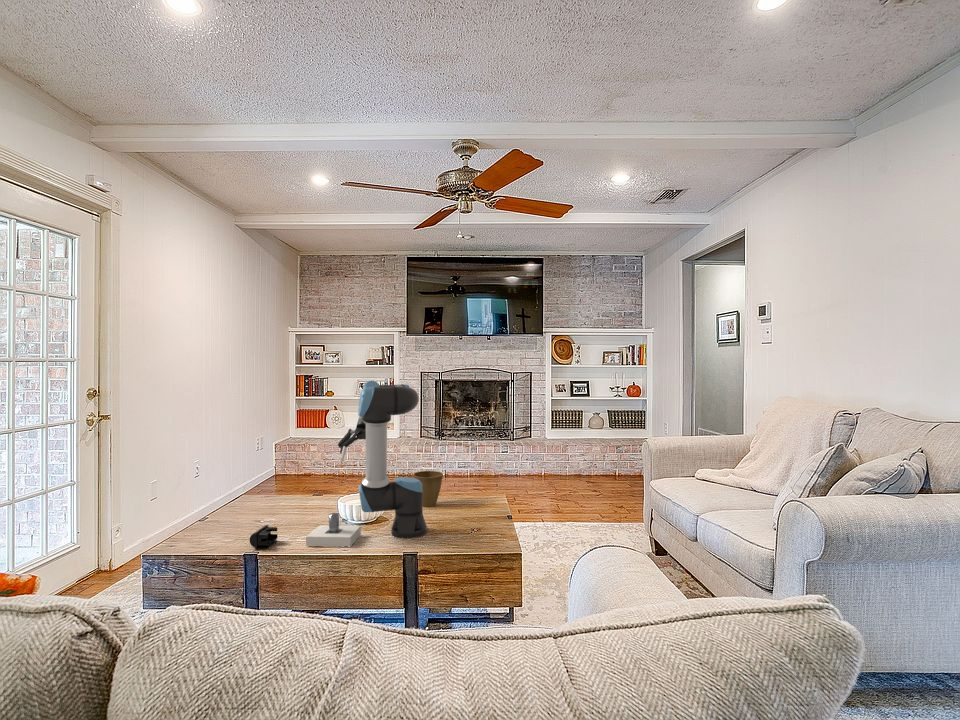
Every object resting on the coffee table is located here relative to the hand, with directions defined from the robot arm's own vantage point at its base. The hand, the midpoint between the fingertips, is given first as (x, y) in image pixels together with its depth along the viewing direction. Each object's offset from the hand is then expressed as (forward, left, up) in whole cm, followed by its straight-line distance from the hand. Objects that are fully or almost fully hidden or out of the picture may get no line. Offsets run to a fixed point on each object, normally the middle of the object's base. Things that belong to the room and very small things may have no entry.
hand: (356, 460), depth 238 cm
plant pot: (-26, -34, -30) cm, 52 cm away
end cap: (+31, +25, -30) cm, 50 cm away
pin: (+4, +19, -30) cm, 35 cm away
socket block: (+4, +19, -30) cm, 35 cm away
